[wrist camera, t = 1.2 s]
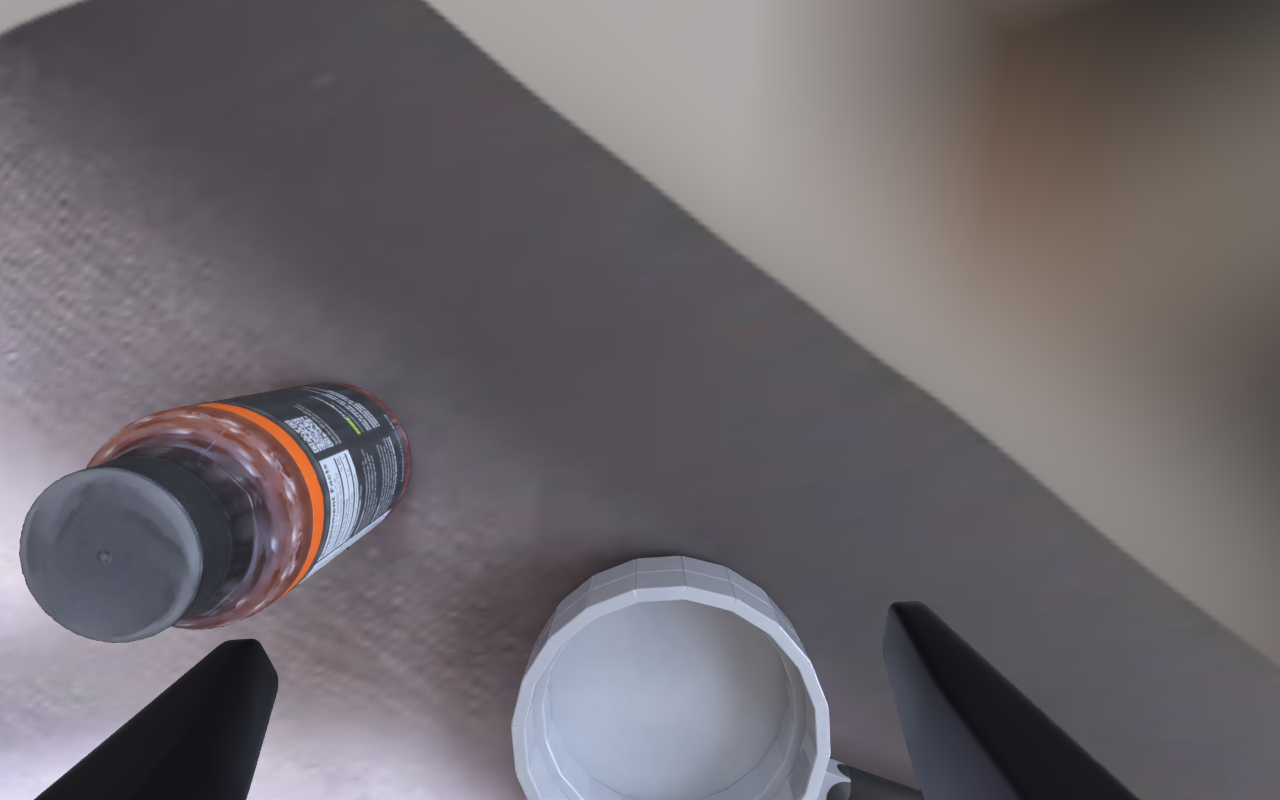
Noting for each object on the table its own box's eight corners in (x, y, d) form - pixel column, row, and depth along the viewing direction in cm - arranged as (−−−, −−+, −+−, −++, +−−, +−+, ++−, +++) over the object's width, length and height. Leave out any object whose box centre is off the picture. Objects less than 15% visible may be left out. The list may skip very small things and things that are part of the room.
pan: (649, 866, 27) (650, 944, 24) (472, 669, 26) (446, 720, 23) (862, 704, 26) (894, 760, 23) (686, 496, 26) (692, 522, 22)
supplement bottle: (246, 506, 26) (-62, 641, 15) (284, 360, 25) (-7, 383, 14) (394, 551, 26) (202, 720, 15) (435, 407, 25) (267, 468, 14)
